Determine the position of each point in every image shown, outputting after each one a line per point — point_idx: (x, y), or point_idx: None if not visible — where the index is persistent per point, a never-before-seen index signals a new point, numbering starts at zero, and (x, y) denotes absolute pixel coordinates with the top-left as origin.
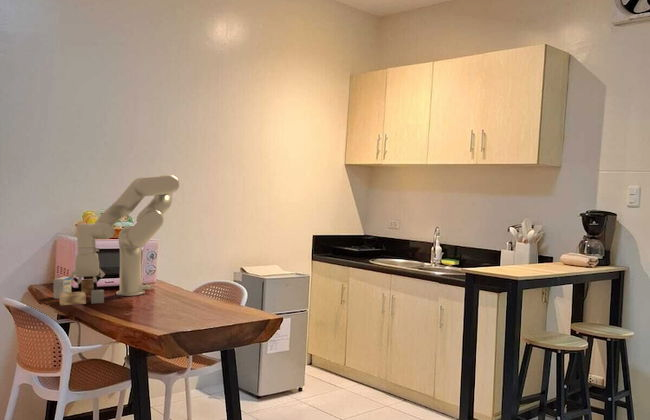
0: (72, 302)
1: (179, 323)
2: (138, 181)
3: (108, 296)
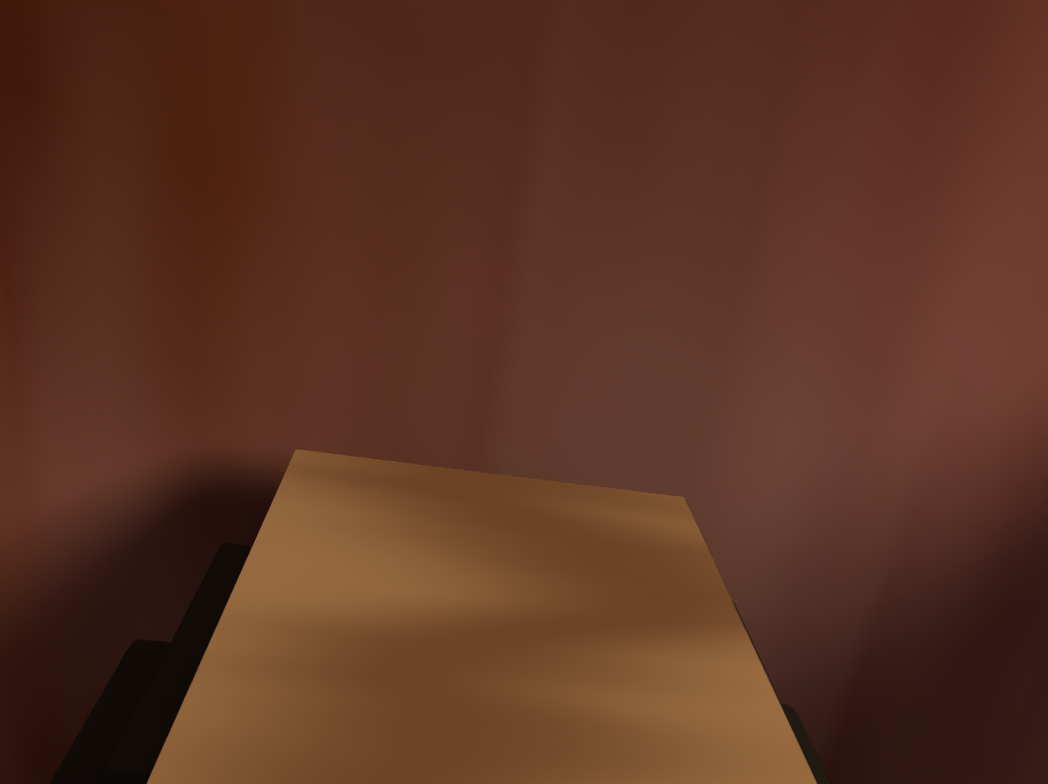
0: None
1: None
2: None
3: (992, 557)
